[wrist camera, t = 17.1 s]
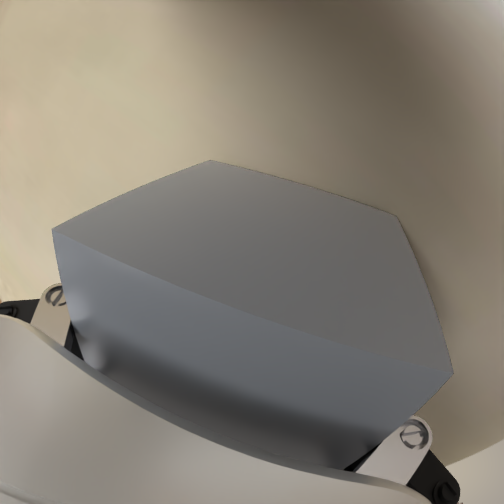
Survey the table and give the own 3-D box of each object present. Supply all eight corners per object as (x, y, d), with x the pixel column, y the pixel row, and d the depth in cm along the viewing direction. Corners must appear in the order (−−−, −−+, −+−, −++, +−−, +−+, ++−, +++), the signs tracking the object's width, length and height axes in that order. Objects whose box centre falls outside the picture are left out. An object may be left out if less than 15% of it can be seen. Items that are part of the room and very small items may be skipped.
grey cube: (210, 159, 11) (51, 229, 5) (396, 215, 10) (453, 373, 3) (192, 304, 15) (106, 413, 9) (330, 353, 14) (301, 494, 7)
